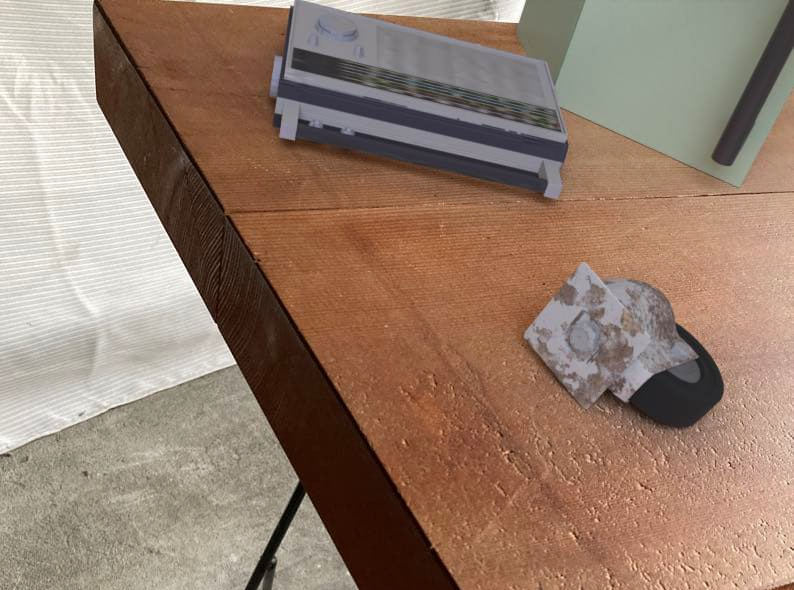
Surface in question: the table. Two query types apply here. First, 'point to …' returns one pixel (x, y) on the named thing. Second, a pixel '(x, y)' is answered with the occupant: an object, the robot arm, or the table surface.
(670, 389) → the camo patterned piece
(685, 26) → the cabinet door
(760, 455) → the table surface
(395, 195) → the table surface
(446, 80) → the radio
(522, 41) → the cabinet
